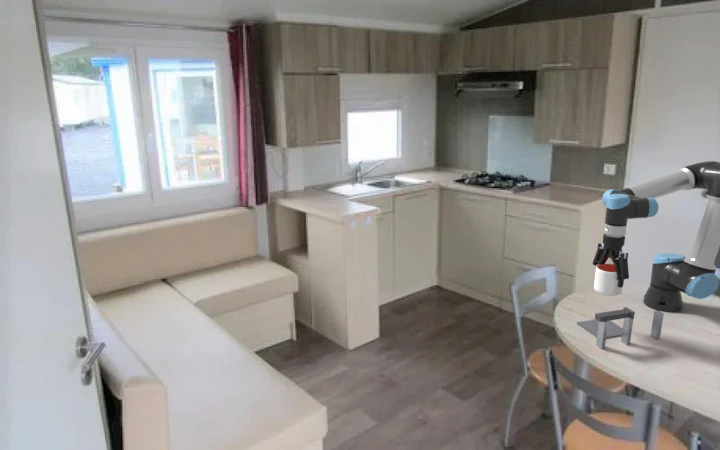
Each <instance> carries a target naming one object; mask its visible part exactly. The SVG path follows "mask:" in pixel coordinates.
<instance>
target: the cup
mask: <svg viewBox="0 0 720 450" xmlns="http://www.w3.org/2000/svg"><path fill="white" fill-rule="evenodd" d="M620 276H621V275H620ZM616 278H618V277H617V274H616V270H615V266H614V263H613V264H612V263H605V264H599V265H597V266H596V267H595V273H594V282H593V283H594V284H593V289H594V291H595V292H596V293H597V294H600V295H603V296H608V297H610V296H611V297H615V296H619V295H620V294H618V295H614V289H615V280H616Z"/></svg>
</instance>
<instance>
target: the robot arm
mask: <svg viewBox="0 0 720 450" xmlns="http://www.w3.org/2000/svg"><path fill="white" fill-rule="evenodd" d="M695 189H700V190H706V194H705V196H706V198H707V200H708V201H707V205H706V207H705V210H704V213H703V216H702V219H701V222H700V225H699V227H698V230H697V233H696V236H695V239H694V242H693V245H692V248H691V250H690V254H689V256H688V257H686V256H685V255H682V254H676V253H670V252H669V253H668V252H667V253H665V252H664V253H658V254H656V255H655V256H654V258H653V262H652V267H651V274H650V275H651V276H650V283H649V286H648V288H647V290H646V291H645V294H644V295H643V298H642V299H643V300H642V302H643V304H644V305H645V306H647V307H649V308H651V309H654V310H658V311H660V312H661V311H662V312H669V313H670V312H673V313H674V312H679V311H681V310H682V309H683V307H684V302H683V297H682V293H684V294H686V295H687V296H688V297H692V298H694V299H698V300H699V299H700V300H702V299H706V298H708V297H709V296H712V295H713V294H714V293H715V292H717V289H718V288H719V284H720V280H719V277H718V275H716V271H717V267H716V265H715V261H716V257H717V255H718V252H719V249H720V162H719V161H715V160H710V161H702V162H698V163H694V164H693V163H692V164H688V165H686V166H683V167H680V168H678V169H677V170H676V171H675V172H673V173H669V174H666V175H663V176H660V177H657V178H654V179H651V180H648V181H644V182H642V183H639V184H636V185H632V186H629V187H626V188H622V189H620V190H618V189H607V190H606V191H605V192H604V193H603V195H602V198H601V199H602V204H603V205H604V206H605V208H606V209H605V219H604V228H603V235H602V242H600V243H598V244H597V249H596V252H595V255H594V258H593V261H592V265H593V266H595V268H596V266H597V265H599V264H607V261H608V260H609V259H611V261H612V262H613V265H614V266H615V270H616V274H617V277H618V278H616V280H615V289H614V295H616V296H619V295H622V291H623V288H624V283H625V282H624V281H625V280H629V278H630V272H629V261H628V257H629V253H628V252H623V247H624V246H625V242H626V233H627V227H628V220H631V219H648V218H652V217H655V216H656V215H657V214H658V212H659V203H658V201H657V198H660V197H664V196H666V195H670V194H674V193H676V192H679V191H682V190H685V191H690V190H695ZM620 275H621V276H620ZM618 294H619V295H618Z"/></svg>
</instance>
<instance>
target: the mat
mask: <svg viewBox="0 0 720 450" xmlns="http://www.w3.org/2000/svg"><path fill="white" fill-rule="evenodd" d="M607 322H608V327H607V336H606V339H611V338H617V337H622V329H623V327H622V326H620V325H618V324H617V323H615V322H614V321H613V320H610V321H607ZM576 324H577V325H578V326H579V327H581V328H582V329H584V330H585V331H587V332H588V333H589V334H591V336H592V335H593V336H594V337H595V338H597V333H598V325H599V321H598V320H596V319H595V318H594V319H590V320H589V319H587V320H584V321H583V320H582V321H577V322H576Z"/></svg>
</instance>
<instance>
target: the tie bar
mask: <svg viewBox="0 0 720 450" xmlns="http://www.w3.org/2000/svg"><path fill="white" fill-rule="evenodd" d="M635 313H636V311H634V310H632V309H630V308H628V307H627V306H625V307H623V309H617V310H610V311H604V312H603V311H602V312H596V313H595V314H594V320H595V319H596V320H598V321H600V322H603V321H615V320H621V319H623V320H624V318H630V319H633V320H634V319H635Z"/></svg>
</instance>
